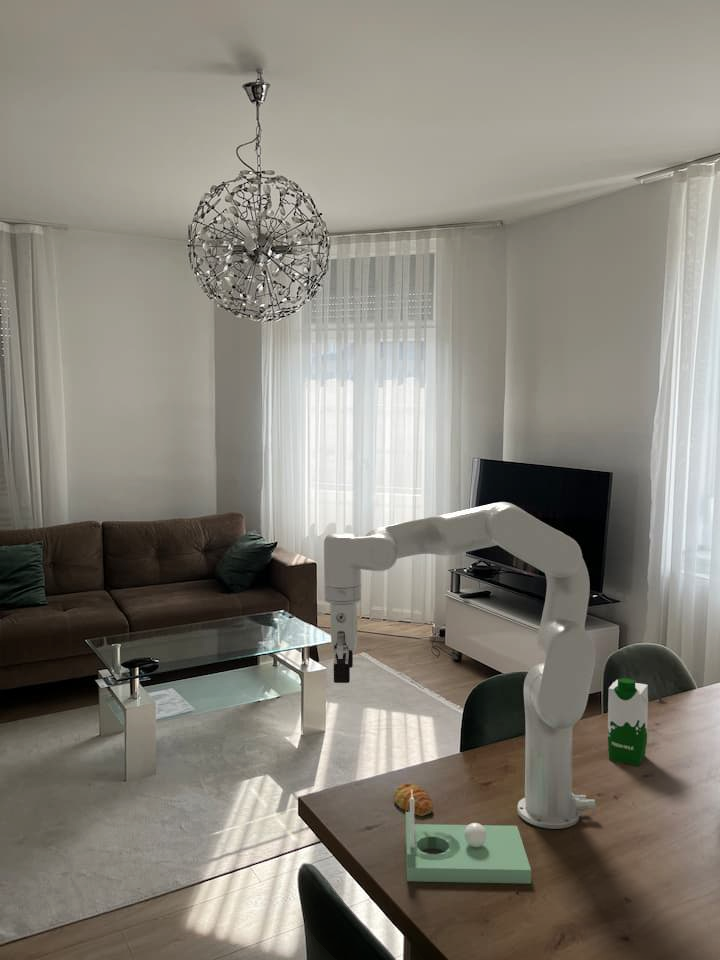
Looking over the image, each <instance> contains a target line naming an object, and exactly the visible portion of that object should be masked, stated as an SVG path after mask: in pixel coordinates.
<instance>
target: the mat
mask: <svg viewBox="0 0 720 960" xmlns="http://www.w3.org/2000/svg"><path fill="white" fill-rule="evenodd" d="M468 825H469V824H431V823H430V824H429V823H427V824H426V823H425V824H422V823H416V824H415V823H414V848H411V847H410V812H407V811H405V853H406V854H405V856H406V857H405V859H406V861H405V863H406V882H427V883H429V882H432V883H433V882H434V883H435V882H437V883H439V882H440V883H477V884H478V883H479V884H481V883H485V884H488V883H489V884H490V883H491V884H527V885H528V884H532V869H531V866H530V863H529V862H530V861H529V859H528V856H527V853H526V849H525V846H524V844H523V843H524V842H523V840H522V836H521V834H520V830H519V828H518V825H499V824H498V825H497V824H496V825H490V824H489V825H487V824H485V825H483V824H481V825H482V826H483V827H484V828H485V830H486V833H487V839H486V842H485V843H484V845H482V846H481V847H477V848H475V847H472V846H470V845H469V844H468V843H467V842H466V840H465V837H464V832H465V829H466V827H467V826H468Z"/></svg>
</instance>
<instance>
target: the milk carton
mask: <svg viewBox="0 0 720 960" xmlns="http://www.w3.org/2000/svg"><path fill="white" fill-rule="evenodd" d="M648 685H649V684H646V683H637V682H636V680H635V679H633V678H629V677H620V678H618V679H616V680H615V681H613V682H612V684H611V685H610V686H609V687H608V702H607V709H608V710H607V748H608V760H609V761H614V762H617V763H622V764H626V765H631V766H635V767H640V764H642V761H643V760H644V758H645V756H646V751H647V744H648V722H649V721H648V720H649V719H648V715H649V710H648V709H649V707H648V705H649V697H648V696H649V695H648V693H649V690H648V687H649V686H648Z"/></svg>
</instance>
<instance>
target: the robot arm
mask: <svg viewBox="0 0 720 960" xmlns="http://www.w3.org/2000/svg"><path fill="white" fill-rule="evenodd" d="M494 546H499V547H500V548H502V549H503V550H505V551H506V552H508V553H509V554H511V555H513V556H515V557H516V558H518V559H520V561H523V562H525V563H526V564H528V565H530V566H532V567H533V568H536V569H537V570H538V571H541V572H542V573H544V575H545V579H546V593H545V601H544V604H543V610H542V615H541V620H540V624H539V628H538V632H537V645H538V648H539V650H540V651H541V653H542V654H543V656H544V657H545V660H544V662H543V663H542V662H541V663H538V664H536V665H534V666H533V667H531V669H530V670H529V671H528V672H527V674H526V675H525V678H524V682H523V701H524V714H525V720H524V721H525V741H524V742H525V743H524V744H525V745H524V746H525V748H524V749H525V753H524V754H525V755H524V759H525V760H524V761H525V763H524V764H525V765H524V766H525V767H524V770H525V771H524V774H525V775H524V797H522V798H521V799H519V801H518V803H517V808H516V809H517V810H516V811H517V814H518V816H519V817H520V819H521V818H522V820H523V821H525V822H526V823H529V824H531V825H533V826H535V827H539V828H542V829H543V828H544V829H548V830H549V829H550V830H556V829H557V830H558V829H559V830H560V829H566V828H570V827H572V826H574V825H576V824H577V823H578V821H580V811H581V810H585V809H586V810H596V800H595V799H594V798H591V799H588V798H587V796H586V794H575V793H574V792H572V791H573V743H574V741H573V737H574V736H573V735H574V731H573V729H574V728H573V727H574V726H575V725H576V724H577V723H579V721H580V720H581V718H582V717H583V715H584V713H585V710H586V707H587V704H588V700H589V695H590V694H589V693H590V690H591V686H592V685H591V684H592V680H593V675H594V670H595V667H596V665H595V664H596V657H597V656H596V646H595V642H594V641H593V637H592V636H591V635H590V633H588V632H587V631H586V629H585V627H586V626H585V625H586V619H587V613H588V607H589V600H590V599H589V598H590V592H591V591H590V587H591V586H590V584H591V583H590V576H589V571H588V568H587V565H586V562H585V560H584V558H583V553H582V549H581V547H580V544H578V542H577V541H576V540H575V539H574V538H572V537H571V536H569V535H567V534H565V533H564V532H562V531H560V530H558V529H556V528H554V527H552V526H550V525H549V524H547V523H545V522H543V521H541V520H540V519H538V518H536V517H535V516H533V515H532V514H530V513H528V512H527V511H525V510H524V509H522V508H521V507H519V506H517V505H515V504H513V503H511V502H506V501H499V502H493V503H489V504H485V505H480V506H476V507H472V508H468V509H467V508H466V509H463V510H458V511H454V512H450V513H446V514H445V513H444V514H440V515H434V516H429V517H426V518H420V519H415V520H407V521H403V522H400V523H398V522H397V523H396V524H395V523H394V524H391V525H386V526H383V527H382V526H381V527H378V528H374V529H373V530H370V531H369V532H368V533H366V534H365V536H358V534H355V533H351V532H335V533H329V534H327V535H326V536H325V537H324V540H323V569H324V570H323V575H324V578H323V579H324V580H323V581H324V583H323V584H324V586H323V587H324V590H323V591H324V602H326V603H327V604H329V605H330V606H329V608H330V609H329V611H330V612H329V617H330V620H329V621H330V642H331V643H330V644H331V650H332V651H333V652H334V661H333V682H334V684H336V683H337V684H349V683H350V681H351V677H350V676H351V675H350V673H351V672H350V669H352V668H353V665H354V664H353V662H354V661H353V660H354V657H353V654H354V652H355V651H356V649H357V646H358V638H359V637H358V611H357V610H358V609H357V603H359V602H361V601H362V597H361V596H362V595H361V594H362V588H361V587H362V585H361V584H362V582H361V581H362V579H361V576H362V575H361V570H363V571H370V572H385V571H387V570H390V569H391V568H392V567H393V566H394V565H395V564H396V562H397V560H398V559H402V558H406V557H412V556H417V555H437V556H441V557H442V556H443V557H444V556H456V555H460V554H463V553H468V552H472V551H477V550H480V549H485V548H491V547H494Z"/></svg>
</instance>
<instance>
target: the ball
mask: <svg viewBox="0 0 720 960" xmlns="http://www.w3.org/2000/svg"><path fill="white" fill-rule="evenodd" d="M467 825H468V826H467V827H466V829H465V832H464V837H465V840H466V842H467V843H468V844H469V845H470V846H472V847H475V848H477V847H481V846H482V845H484V843H485V842H486V839H487V833H486V830H485V828H484V827H483V826H482V825H483V824H481V823H479V822H471V823H469V824H467Z"/></svg>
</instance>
